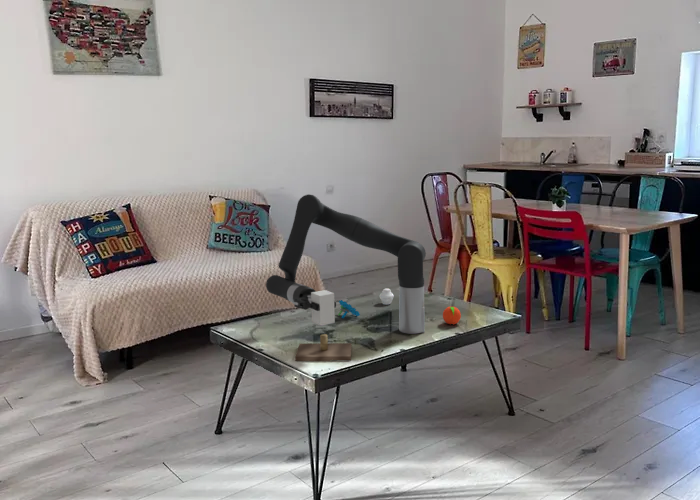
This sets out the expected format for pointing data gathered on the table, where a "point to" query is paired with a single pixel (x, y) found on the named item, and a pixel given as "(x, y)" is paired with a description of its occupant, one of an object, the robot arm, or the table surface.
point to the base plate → (323, 351)
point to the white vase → (386, 296)
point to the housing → (323, 307)
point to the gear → (347, 309)
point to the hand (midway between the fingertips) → (326, 306)
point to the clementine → (451, 315)
